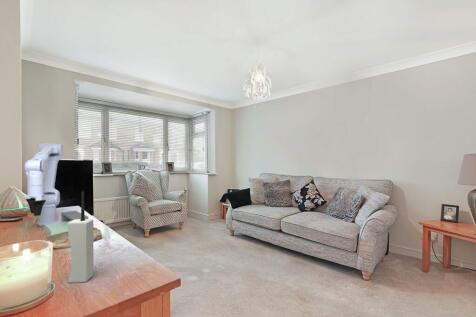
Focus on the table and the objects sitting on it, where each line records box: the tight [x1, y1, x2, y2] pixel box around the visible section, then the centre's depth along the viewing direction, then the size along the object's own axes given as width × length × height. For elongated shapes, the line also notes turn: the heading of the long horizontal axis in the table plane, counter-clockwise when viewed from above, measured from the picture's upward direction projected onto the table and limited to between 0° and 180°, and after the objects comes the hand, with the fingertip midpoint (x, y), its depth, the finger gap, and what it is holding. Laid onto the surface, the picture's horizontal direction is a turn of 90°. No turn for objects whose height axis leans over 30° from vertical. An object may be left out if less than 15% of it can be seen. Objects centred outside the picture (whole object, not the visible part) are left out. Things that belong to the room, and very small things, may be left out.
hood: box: [60, 210, 89, 222], centre depth 116 cm, size 21×6×6 cm, turn 49°
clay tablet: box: [43, 227, 103, 250], centre depth 96 cm, size 14×5×20 cm
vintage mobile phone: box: [67, 191, 95, 284], centre depth 66 cm, size 4×5×25 cm
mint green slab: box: [43, 220, 72, 236], centre depth 112 cm, size 14×12×3 cm
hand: (35, 214), depth 109 cm, fingers open, 7 cm apart
